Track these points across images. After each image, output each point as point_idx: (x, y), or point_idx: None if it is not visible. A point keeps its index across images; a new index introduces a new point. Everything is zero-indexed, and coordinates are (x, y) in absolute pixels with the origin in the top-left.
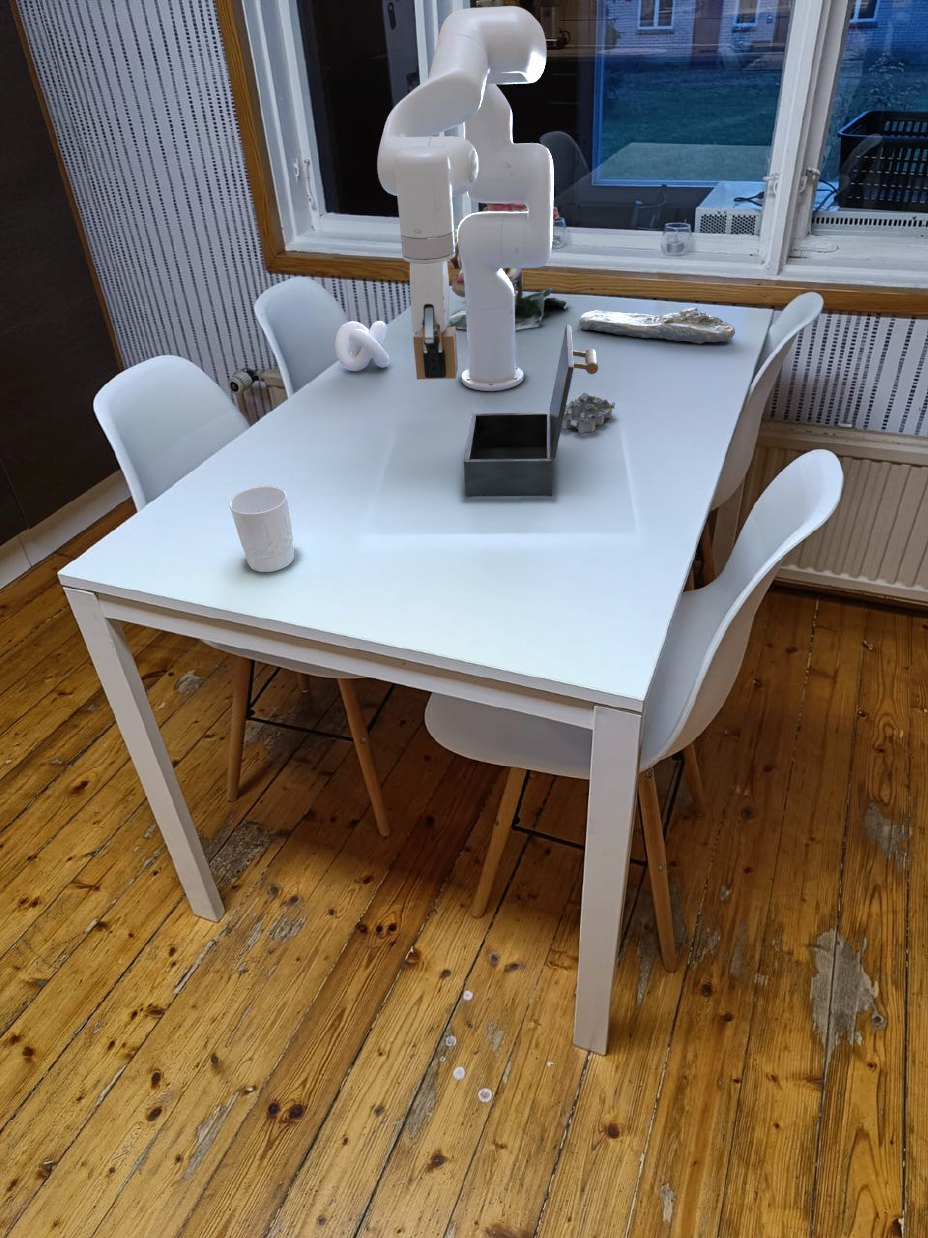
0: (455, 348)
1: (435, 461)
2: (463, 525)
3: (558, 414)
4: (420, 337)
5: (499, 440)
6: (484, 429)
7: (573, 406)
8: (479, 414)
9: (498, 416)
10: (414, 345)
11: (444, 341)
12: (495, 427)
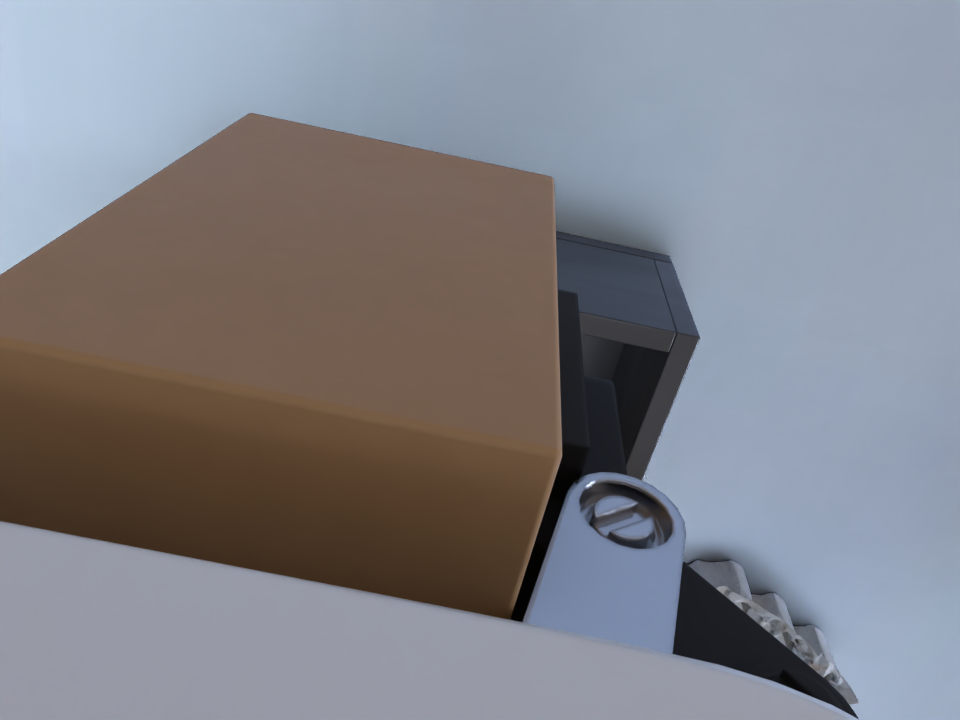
0: None
1: (614, 70)
2: (37, 122)
3: None
4: None
5: (620, 374)
6: (646, 348)
7: (793, 645)
8: (673, 369)
9: (633, 438)
10: (25, 263)
11: None
12: (631, 395)
